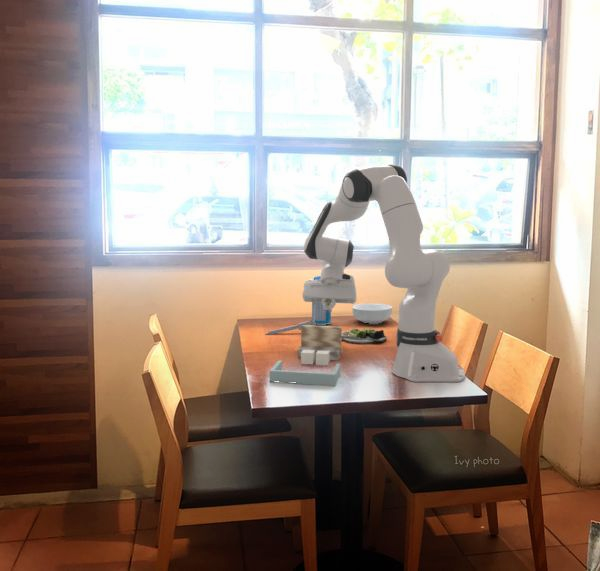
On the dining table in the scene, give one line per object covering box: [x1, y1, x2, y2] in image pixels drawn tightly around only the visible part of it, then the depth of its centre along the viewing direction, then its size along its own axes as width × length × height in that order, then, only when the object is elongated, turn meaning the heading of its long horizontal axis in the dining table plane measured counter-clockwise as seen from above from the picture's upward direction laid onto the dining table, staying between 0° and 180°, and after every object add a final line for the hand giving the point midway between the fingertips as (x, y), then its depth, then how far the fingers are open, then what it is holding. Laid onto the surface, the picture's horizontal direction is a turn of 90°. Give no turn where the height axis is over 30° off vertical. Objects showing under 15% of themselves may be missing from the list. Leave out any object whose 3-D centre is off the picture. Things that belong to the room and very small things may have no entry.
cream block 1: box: [300, 350, 316, 365], centre depth 216 cm, size 4×4×4 cm
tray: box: [269, 359, 341, 387], centre depth 199 cm, size 20×12×4 cm, turn 79°
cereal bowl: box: [351, 302, 393, 325], centre depth 278 cm, size 17×17×7 cm
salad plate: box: [342, 328, 387, 344], centre depth 249 cm, size 19×18×5 cm
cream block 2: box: [315, 350, 331, 366], centre depth 215 cm, size 4×4×4 cm
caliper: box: [265, 317, 317, 335], centre depth 258 cm, size 20×1×6 cm, turn 99°
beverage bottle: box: [311, 275, 332, 326], centre depth 274 cm, size 8×8×20 cm
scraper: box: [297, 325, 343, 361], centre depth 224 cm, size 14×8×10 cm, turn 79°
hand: (327, 310), depth 238 cm, fingers closed
